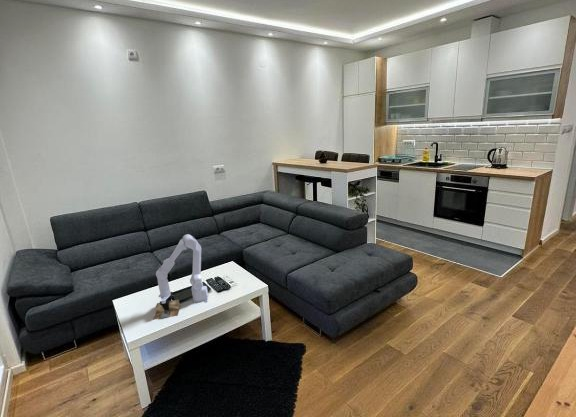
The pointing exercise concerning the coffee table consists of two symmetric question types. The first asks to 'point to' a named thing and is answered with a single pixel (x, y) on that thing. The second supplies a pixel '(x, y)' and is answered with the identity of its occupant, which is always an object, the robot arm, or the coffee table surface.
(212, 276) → the coffee table surface
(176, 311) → the board
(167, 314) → the gray stepped block
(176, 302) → the beech bar
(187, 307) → the coffee table surface
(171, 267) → the robot arm
